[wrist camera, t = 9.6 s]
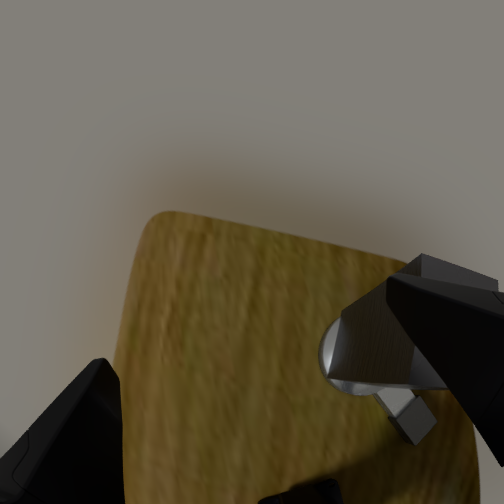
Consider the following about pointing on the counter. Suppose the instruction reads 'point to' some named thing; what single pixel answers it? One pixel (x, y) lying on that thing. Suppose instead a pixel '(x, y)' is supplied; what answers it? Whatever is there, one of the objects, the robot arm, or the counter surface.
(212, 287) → the counter surface
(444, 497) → the counter surface
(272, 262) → the counter surface
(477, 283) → the dark grey square block
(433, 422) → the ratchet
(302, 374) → the counter surface
